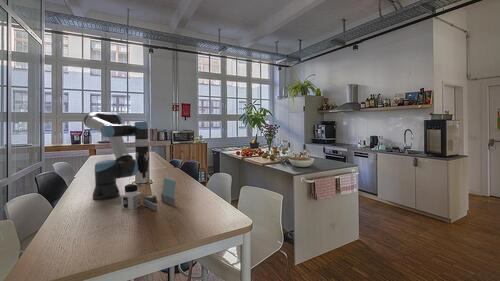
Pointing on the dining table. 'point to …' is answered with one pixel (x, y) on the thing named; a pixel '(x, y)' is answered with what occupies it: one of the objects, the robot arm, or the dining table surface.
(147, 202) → the dark grey shallow box
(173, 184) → the lid
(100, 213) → the dining table surface
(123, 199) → the container
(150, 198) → the dark grey rounded disc
